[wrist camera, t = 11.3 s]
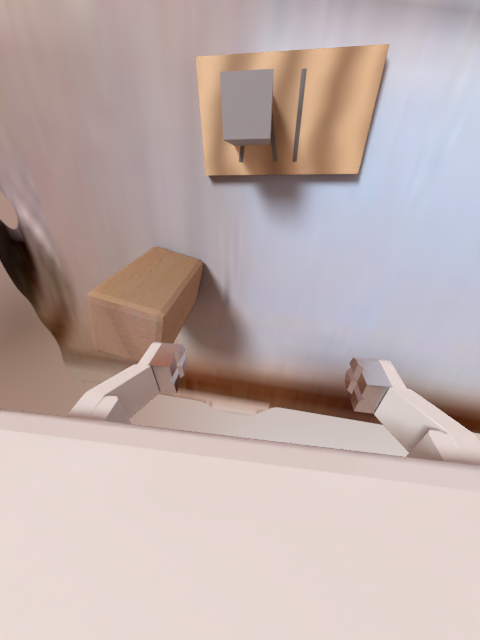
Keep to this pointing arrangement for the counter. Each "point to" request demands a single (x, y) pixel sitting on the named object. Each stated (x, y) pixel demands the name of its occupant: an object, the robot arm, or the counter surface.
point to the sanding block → (247, 106)
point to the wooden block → (143, 303)
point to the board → (297, 110)
